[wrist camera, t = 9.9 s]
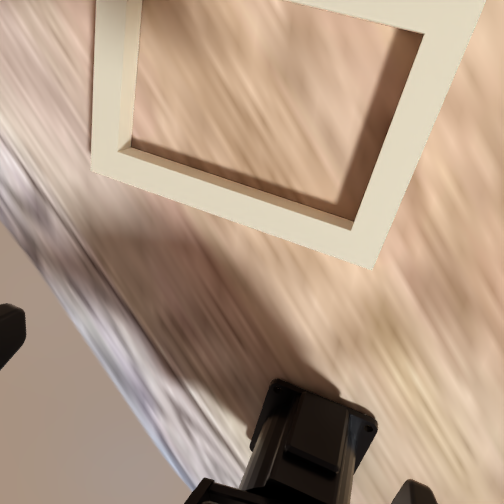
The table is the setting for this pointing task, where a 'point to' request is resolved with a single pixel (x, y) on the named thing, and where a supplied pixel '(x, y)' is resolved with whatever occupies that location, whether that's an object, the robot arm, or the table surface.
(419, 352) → the table surface
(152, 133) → the table surface
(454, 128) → the table surface
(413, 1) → the pocket frame
